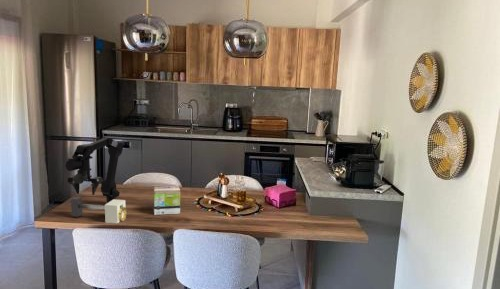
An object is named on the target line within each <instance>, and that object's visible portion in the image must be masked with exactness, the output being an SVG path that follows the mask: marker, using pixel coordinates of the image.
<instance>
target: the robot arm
mask: <svg viewBox="0 0 500 289" xmlns="http://www.w3.org/2000/svg"><path fill="white" fill-rule="evenodd" d="M103 147H106V148H107V152H108V155H109V158H108V159H109V160H108V166H107V171H106V177H105V180H104V179H103V177H102V176H94V177H93V176H92V175H91V171H92V168H91V162H90V161H91V159H93V156H92V155H93V153H94V152H95V151H97V150H99V149H101V148H103ZM123 150H124V145H123V143H121V142H119V141H117V140H115V139H113V137H112V138H111V137H109V136H104V137H103V138H100V139H98V140H96V141H93V142H91V143H86V144H85V143H84V144H79V145H77V146H76V148H75V150H74V152H73V154H72V157H70V158H67V159H68V160H67V161H66V162H65V169H66V170H67V171H68V172H73V171H76V170H77V173H76V174H74V175H70V176H68V177H67V178H66V182H67V183H68V184H69V185H72V186H73V188H74V190H75V193H76V194H77V195H79V194H80V185H81V184H83V183H84V182H89V183H90V182H91V184H90V186H91V193H92V194H91V195H92V196H94V195H95V193H96V191H97V188H98V187H99V185H100V184H101V185H100V192H101V193H102V196H103V197H105V201H106V203H105V204H107V203H109V202H110V201H112V200H113V199H116V200H117V198H118V197H119V196H120V191H119V190H117V183H116V174H117V169H118V168H117V166H118V162H119V157H120V156H121V155H122V153H123Z"/></svg>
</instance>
